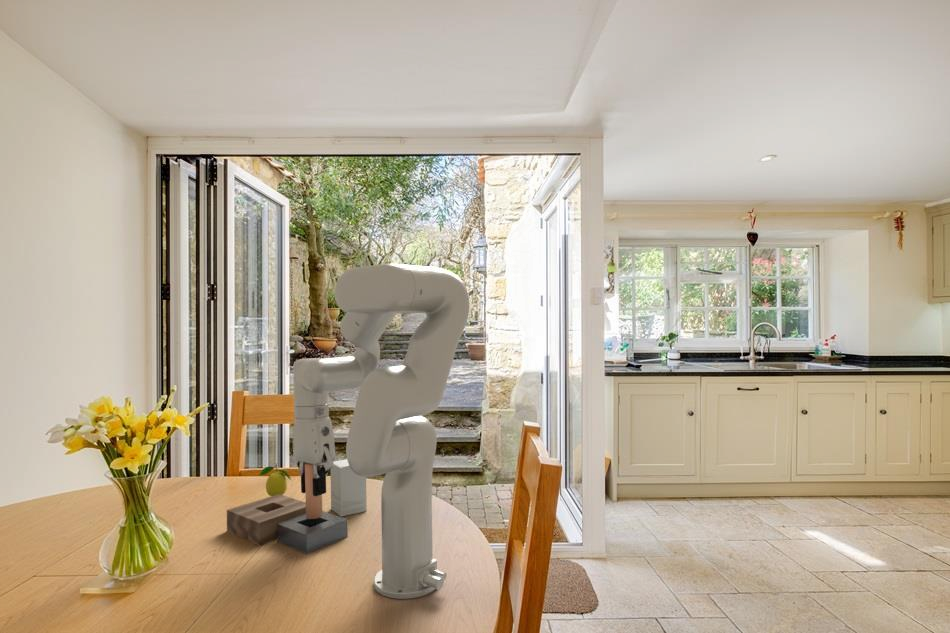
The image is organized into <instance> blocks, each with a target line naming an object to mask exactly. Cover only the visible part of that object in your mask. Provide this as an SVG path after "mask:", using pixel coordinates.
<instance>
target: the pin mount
mask: <svg viewBox="0 0 950 633" xmlns="http://www.w3.org/2000/svg"><path fill="white" fill-rule="evenodd" d="M322 511H323V516H322V517H320V518H316V519H308V518H306V514H304V515H301V516H298V517H295V518H292V519H289V520H287V521H284V522H281V523H278V524H277V539H276V540H277V542H278V543H280V544H282V545H285V546H287V547H289V548H292V549H294V550H297V551H299V552H301V553H304V554H307V555H308V554H310V553H312V552H315V551H317V550H319V549H322V548H325V547H326V546H329V545H331V544H333V543H336V542H339V541H340V540H343V539H345V538H348V536H349V534H348V529H349V528H348V518H345V517H343V516H339V515H335V514H332V513H329V512H327V511H324V510H322Z"/></svg>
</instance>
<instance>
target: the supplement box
mask: <svg viewBox="0 0 950 633" xmlns="http://www.w3.org/2000/svg"><path fill="white" fill-rule="evenodd" d="M333 463H334V466H333V467H332V468H331V469H330V509H331V510H332V511H333V512H334V513H335V514H337V516H339V517H345V516H351V515H355V514H359V513H363V512H367V510H368V509H367V506H368V505H367V477H362V476H359V475H357V474H356V473H354V472H353V470H352V469H351V468H350V466H349V463H348V460H347V458H346V459H341V460H336V461H335V460H333Z"/></svg>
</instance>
